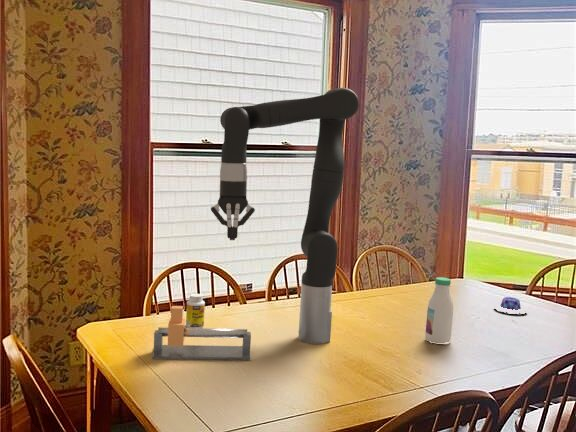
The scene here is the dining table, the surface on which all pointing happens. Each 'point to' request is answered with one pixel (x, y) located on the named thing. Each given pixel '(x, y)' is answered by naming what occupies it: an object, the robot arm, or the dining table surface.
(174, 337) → the collar
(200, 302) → the supplement bottle
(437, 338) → the milk bottle
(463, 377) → the dining table surface
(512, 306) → the pudding
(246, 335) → the pipe stand
